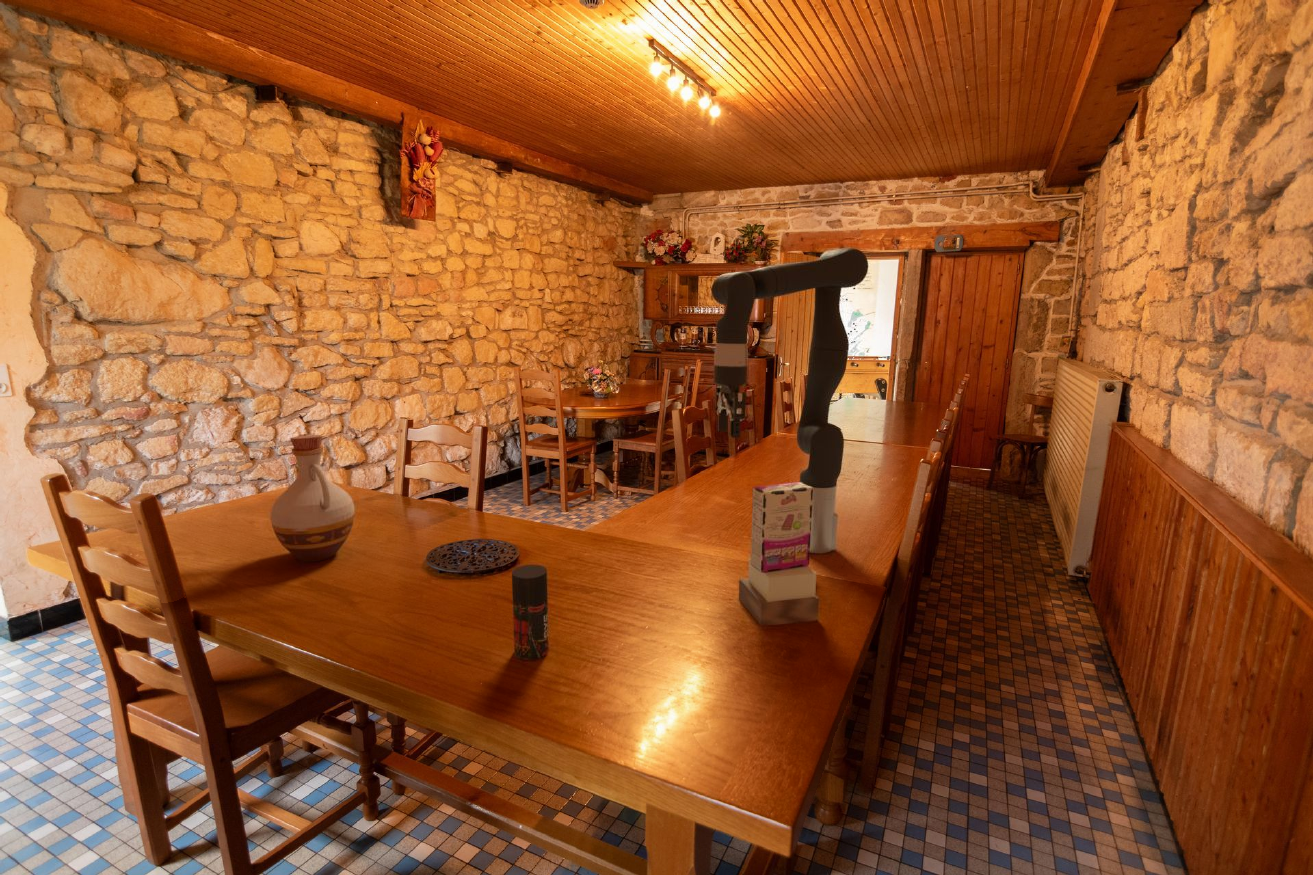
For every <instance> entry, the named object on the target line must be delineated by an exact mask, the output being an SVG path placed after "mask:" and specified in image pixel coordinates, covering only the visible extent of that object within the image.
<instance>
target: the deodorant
mask: <svg viewBox="0 0 1313 875" xmlns="http://www.w3.org/2000/svg"><path fill="white" fill-rule="evenodd" d="M511 588H512V591H511V593H512V594H511V595H512V619H513V622H512V623H513V644H514V645H513V648H514V651H513V652H514V656H515V658H517V659H518V660H521V661H531V662H532V661H537V660H540V659H542V658H544V657H546V656H547V655H548V654H549V652H550V650H549V648H550V645H549V644H550V643H549V641H550V640H549V608H548V607H549V606H548V605H549V604H548V601H549V599H548V598H549V597H548V568H546V567H545V566H543V565H541V564H540V565H539V564H525V565H524V564H523V565H520V566H517V567H515V568H514V569H513V570H512V571H511Z"/></svg>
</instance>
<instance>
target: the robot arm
mask: <svg viewBox="0 0 1313 875" xmlns="http://www.w3.org/2000/svg"><path fill="white" fill-rule="evenodd" d="M868 272H869V261H868V258H867V256H866V254H865V253H864V252H863V251H862V250H860V249H858V248H855V247H844V248H843V247H842V248H836V249H829V250H826V251H824V252H823V253H821V254H820V257H819V258H818V259H815V260H811V261H810V260H809V261H800V262H789V263H780V264H774V265H768V266H763V267H760V268H756V269H753V270H746V271H743V270H742V271H737V272H727V273H723V274H721V275H718V277H716V278H715V279H714V281H713V283H712V285H711V295H712V298H713V300H714V301H715V302H717V303H718V304H719V305H722V306H726V308H725V311H724V314H723V315H722V316H721V317H720V318H718V320H717V322H716V330H715V335H716V336H715V337H716V338H715V348H714V355H713V356H714V358H713V360H714V361H713V383H714V385H716V386H715V391H714V392H715V393H714V394H715V397H714V411H715V412H716V415H717V430H718V431H719V432H727V431H728V427H729V437H730V438H731V439H732V438H733V439H734V438H735V439H739V438H740V436H741V422H742V420H745V419H746V392H745V391H742V392H741V391H740V387H741V386H746V385H747V384H748V365H749V364H748V362H749V361H748V358H749V351H748V350H749V349H748V335H749V334H748V331H749V330H748V328H749V322H750V319H751V316H752V312H753V309H754V305H755V300H763V299H764V300H765V299H771V298H776V297H777V298H778V297H782V296H787V295H790V294H791V295H792V294H795V293H798V292H799V293H800V292H803V291H807V290H813V289H814V309H813V310H814V311H813V312H814V313H813V320H812V322H813V323H812V332H811V334H812V335H811V339H810V347H809V354H808V355H809V356H808V363H807V364H808V365H807V375H806V382H805V383H806V384H805V390H804V399H803V405H802V410H801V414H800V417H799V418H800V419H799V423H798V426H797V433H796V442H797V445H798V448H799V449H800V450H801V451H802V452H803V453H805V454H807V455H809V458H808V464H807V468H806V469H802V470H801V471H800V474H799V482H802V483H803V484H806V485H808V486H811V487H813V498H812V517H811V536H810V554H827V553H830V552H832V551H836V549H837V534H838V533H837V532H838V523H839V519H838V518H839V516H838V513H836V499H837V485H838V480H839V479H838V478H839V477H840V475H841V472H842V466H843V465H842V464H843V457H844V450H845V449H844V448H845V439H844V434H843V432H842V429H840V427H838V426H837V425H836V424H833V423H830V422H829V414H830V413H829V412H830V405H831V401H832V400H833V396H834V394H835V393H836V390H837V389H838V387H839V386H840V383H841V382H842V380H843V378H844V375H845V373H846V371H847V370H846V369H847V365H848V364H847V363H848V357H849V350H850V349H849V348H850V345H849V344H850V342H849V336H848V334H847V330H846V327H845V324H844V321H843V319H842V315H841V310H840V309H841V308H840V307H841V306H840V304H841V293H842V289H847V288H852V287H855V286H857V285H859V284H861V283H862V282H863V280H864V279H866V277H867V275H868ZM728 423H729V424H728ZM728 425H729V426H728Z"/></svg>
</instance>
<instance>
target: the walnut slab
mask: <svg viewBox="0 0 1313 875" xmlns="http://www.w3.org/2000/svg"><path fill="white" fill-rule="evenodd" d="M738 600H739V602H740V603H741V604H742V605H743V606H744V608H745V609H746V610H747V611H748V613H749V614H750V615H751V616H752V617H753V619H754V620H755V621H756V623H758V625H759V626H760V627H765V626H774V625H775V626H776V625H783V624H794V623H803V622H814V621H818V620H819V604H820V598H819V596H817V595H816V594H815V597H810V598H800V599H791V600H782V601H772V602H767V600H766V599H765V598H764V597H763V596H762V595H761V594H760V593H759V592H758V591H757V590H756V589H755V588H754V587H753V586H752V585H751V584H750V583H749V581H748V577H746V578H745V577H744V578H739V582H738Z"/></svg>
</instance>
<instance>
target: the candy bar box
mask: <svg viewBox="0 0 1313 875" xmlns="http://www.w3.org/2000/svg"><path fill="white" fill-rule="evenodd" d="M812 498H813V487H811V486H808V485H806V484H803V483H802V482H800V481H795V482H787V483H777V484H770V485H762V486H761V485H760V486H759V485H758V486H752V503H751V504H752V506H751V508H752V509H751V510H752V511H751V537H750V538H751V540H750V542H751V543H750V558H751V565H752V566H753V567H755V568H756V569H758V570H759V571H760V572H761V573H766V572H772V571H778V570H784V569H790V568H796V567H802V566H809V565H810V558H811V557H810V554H811V553H810V536H811V517H812Z"/></svg>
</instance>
